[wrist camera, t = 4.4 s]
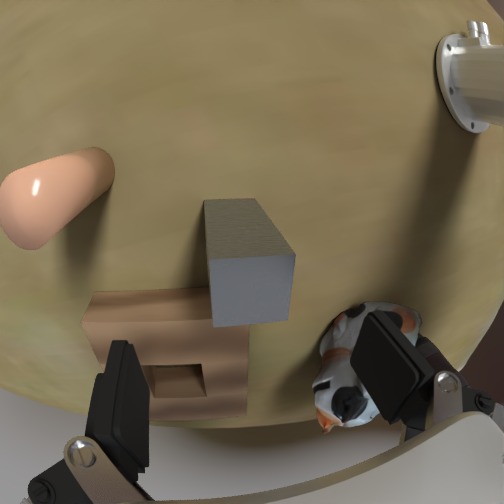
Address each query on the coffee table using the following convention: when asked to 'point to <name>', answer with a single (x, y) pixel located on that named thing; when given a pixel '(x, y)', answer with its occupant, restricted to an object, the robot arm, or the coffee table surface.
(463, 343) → the coffee table surface
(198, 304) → the bore block
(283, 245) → the square bit
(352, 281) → the coffee table surface
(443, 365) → the camera lens
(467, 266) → the coffee table surface
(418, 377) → the robot arm
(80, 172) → the round bit
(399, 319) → the lucky cat figurine
